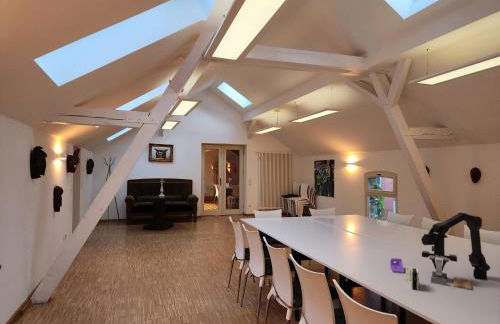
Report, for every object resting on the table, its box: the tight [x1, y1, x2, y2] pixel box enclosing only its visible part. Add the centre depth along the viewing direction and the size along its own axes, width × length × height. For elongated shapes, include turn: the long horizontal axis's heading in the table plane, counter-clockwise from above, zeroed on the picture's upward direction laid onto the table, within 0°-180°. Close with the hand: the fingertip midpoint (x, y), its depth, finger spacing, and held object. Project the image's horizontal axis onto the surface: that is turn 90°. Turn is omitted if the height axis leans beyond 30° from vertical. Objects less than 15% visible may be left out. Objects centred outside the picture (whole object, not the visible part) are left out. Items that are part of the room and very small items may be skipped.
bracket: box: [390, 257, 405, 275], centre depth 218 cm, size 12×7×7 cm, turn 164°
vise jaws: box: [430, 270, 448, 286], centre depth 199 cm, size 8×16×3 cm, turn 148°
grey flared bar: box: [435, 259, 443, 276], centre depth 199 cm, size 3×8×8 cm, turn 148°
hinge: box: [405, 265, 420, 291], centre depth 189 cm, size 14×5×10 cm, turn 168°
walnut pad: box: [452, 277, 473, 291], centre depth 193 cm, size 9×16×1 cm, turn 148°
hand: (439, 270), depth 199 cm, fingers closed on grey flared bar, 3 cm apart
